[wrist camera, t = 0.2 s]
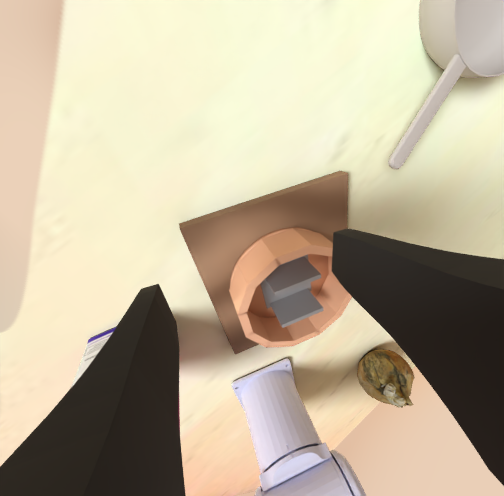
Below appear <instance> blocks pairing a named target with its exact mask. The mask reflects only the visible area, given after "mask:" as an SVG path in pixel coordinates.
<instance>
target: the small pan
mask: <svg viewBox="0 0 504 496" xmlns="http://www.w3.org/2000/svg"><path fill="white" fill-rule="evenodd" d="M419 28H420V35H421V39H422V42H423V46H424V48H425V50H426V52H427V54H428V55H429V56H430V57H431V59H432V60H433V61H434V62H435V63H436V64H437V65H438V66H439V67H440V68H442V69H444V72H443V73H442V75H441V77H440V78H439V80H438V81H437V83H436V85H435V86H434V88H433V89H432V91H431V92H430V94H429V96H428V97H427V99H426V100H425V102H424V104H423V105H422V107H421V108H420V110H419V112H418V113H417V115H416V116H415V118H414V120H413V121H412V123H411V124H410V126H409V128H408V129H407V131H406V132H405V134H404V136H403V137H402V139H401V140H400V142H399V143H398V145H397V147H396V148H395V150H394V151H393V153H392V155H391V156H390V158H389V161H388V163H389V166H390V167H391V168H393V169H399V168H400V167H401V166H402V165H403V163H404V162H405V160H406V159H407V157H408V156H409V154H410V153H411V151H412V150H413V148H414V146H415V145H416V143H417V142H418V140H419V139H420V137H421V136H422V134H423V133H424V131H425V129H426V128H427V126H428V125H429V123H430V122H431V120H432V119H433V117H434V116H435V114H436V112H437V111H438V109H439V108H440V106H441V105H442V103H443V102H444V100H445V99H446V97H447V95H448V94H449V92H450V91H451V89H452V88H453V86H454V85H455V83H456V82H457V80H458V78H459V77H466V78H478V77H493V76H499V75H502V74H504V0H420V5H419Z"/></svg>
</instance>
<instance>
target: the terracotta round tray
mask: <svg viewBox="0 0 504 496" xmlns="http://www.w3.org/2000/svg"><path fill="white" fill-rule="evenodd" d="M332 250H333V243H332V242H331V241H330V240H328V239H327V238H326V237H324V236H323V235H322V234H320V233H317V232H314V231H312V230H310V229H306V228H301V227H288V228H282V229H278V230H275V231H272V232H270V233H267V234H266V235H264V236H262V237H260V238H259V239H257V240H256V241H254V242H253V243H252V244H251V245H250V246H249V247H248V248H247V249H246V250H245V251H244V252H243V253H242V254H241V256H240V257H239V259H238V260H237V262H236V264H235V266H234V268H233V270H232V273H231V278H230V289H229V292H230V295H231V297H232V300H233V303H234V306H235V309H236V312H237V315H238V317H239V320H240V323H241V325H242V328H243V331H244V334H245V336H246V338H248V339H250V340H252V341H254V342H256V343H258V344H260V345H262V346H264V347H266V348H268V347H286V346H294V345H297V344H299V343H301V342H303V341H306V340H308V339H310V338H313V337H315V336H317V335H319V334H321V333H322V332H323V331H324V330H325V329H326V328H327V327H329V326H330V325H331V324H332V323H333V322H334V321H335V320H337V319H338V318H339V317H340V316H341V315H342V313H343V312H344V310H345V308H346V306H347V305H348V303H349V301H350V299H351V298H352V296H351V295H350V294H349V293H348V292H347V291H346V290H345V289H344V287H343V286H342V285H341V283H340V282H339V281H338V279H337V278H336V277H335V275H334V274H333V273H332V271H331V270H332Z"/></svg>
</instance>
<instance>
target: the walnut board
mask: <svg viewBox="0 0 504 496" xmlns="http://www.w3.org/2000/svg"><path fill="white" fill-rule="evenodd" d="M347 199H348V173H346V172H342V171H338V172H335V173H332V174H329V175H326V176H323V177H320V178H317V179H314V180H311V181H308V182H305V183H302V184H298V185H295V186H292V187H289V188H286V189H283V190H280V191H277V192H274V193H271V194H268V195H265V196H262V197H259V198H256V199H253V200H250V201H247V202H244V203H241V204H238V205H235V206H231V207H228V208H225V209H222V210H219V211H216V212H213V213H210V214H207V215H204V216H201V217H198V218H195V219H192V220H189V221H186V222H183V223H180V224H179V225H180V230H181V233H182V235H183V237H184V239H185V242H186V244H187V246H188V249H189V251H190V253H191V255H192V258H193V260H194V262H195V265H196V267H197V269H198V271H199V274H200V276H201V278H202V280H203V283H204V285H205V287H206V290H207V292H208V294H209V296H210V299H211V301H212V303H213V305H214V308H215V310H216V312H217V315H218V317H219V319H220V321H221V324H222V326H223V328H224V331H225V333H226V335H227V337H228V340H229V342H230V344H231V346H232V349H233V351H234V353H235V354H237V353H240V352H242V351H244V350H247V349H249V348H251V347H254V346H256V345H258V343H256V342H254V341H252V340H250V339H248V338H246V336H245V334H244V331H243V328H242V325H241V323H240V320H239V317H238V315H237V312H236V309H235V306H234V303H233V300H232V297H231V295H230V292H229V289H230V278H231V273H232V270H233V268H234V266H235V264H236V262H237V260H238V259H239V257H240V256H241V254H242V253H243V252H244V251H245V250H246V249H247V248H248V247H249V246H250V245H251V244H252V243H253V242H254V241H256V240H257V239H259V238H260V237H262V236H264V235H266V234H267V233H270V232H272V231H275V230H278V229H282V228H288V227H301V228H306V229H310V230H312V231H314V232H317V233H320V234H322V235H323V236H324V237H326V238H327V239H328V240H330V241H331V242H332V243H333V232H336V231H340V230H343V229H347Z"/></svg>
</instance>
